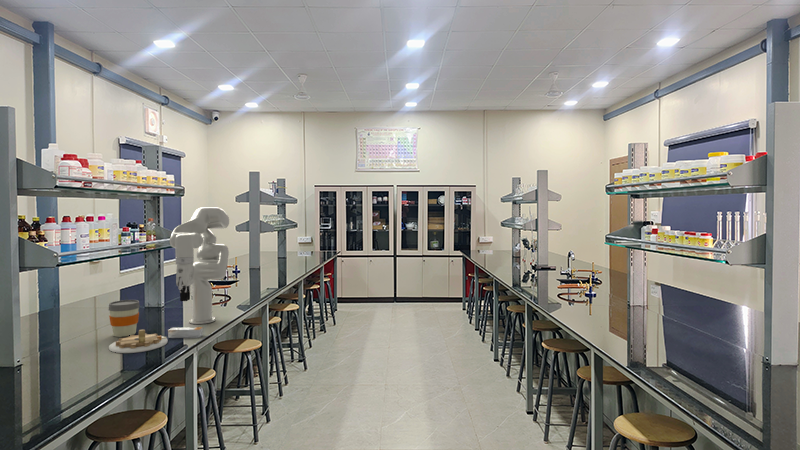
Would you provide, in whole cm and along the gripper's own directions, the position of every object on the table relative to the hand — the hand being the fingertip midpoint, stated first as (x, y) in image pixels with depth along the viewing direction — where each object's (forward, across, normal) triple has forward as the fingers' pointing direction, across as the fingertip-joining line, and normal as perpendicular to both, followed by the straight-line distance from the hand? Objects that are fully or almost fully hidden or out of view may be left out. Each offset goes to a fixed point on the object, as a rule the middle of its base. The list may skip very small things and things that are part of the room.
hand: (185, 300), depth 208 cm
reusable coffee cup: (+17, +6, +30) cm, 35 cm away
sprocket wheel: (+16, -12, +15) cm, 25 cm away
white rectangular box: (+17, 0, 0) cm, 17 cm away
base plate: (+17, -12, +15) cm, 26 cm away
